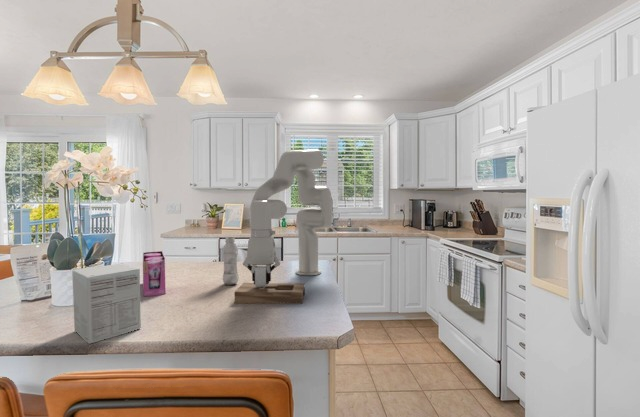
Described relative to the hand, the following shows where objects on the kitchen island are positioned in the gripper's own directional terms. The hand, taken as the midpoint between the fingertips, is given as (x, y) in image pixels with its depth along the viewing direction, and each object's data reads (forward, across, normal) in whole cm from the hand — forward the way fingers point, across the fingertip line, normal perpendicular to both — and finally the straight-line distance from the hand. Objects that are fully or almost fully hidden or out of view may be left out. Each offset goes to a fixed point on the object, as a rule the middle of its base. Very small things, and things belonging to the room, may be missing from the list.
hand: (261, 282), depth 125 cm
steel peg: (+6, 0, 0) cm, 6 cm away
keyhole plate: (+6, -4, 0) cm, 7 cm away
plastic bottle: (+6, +17, -19) cm, 26 cm away
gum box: (+6, +47, -12) cm, 49 cm away
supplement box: (+6, +37, +31) cm, 49 cm away
